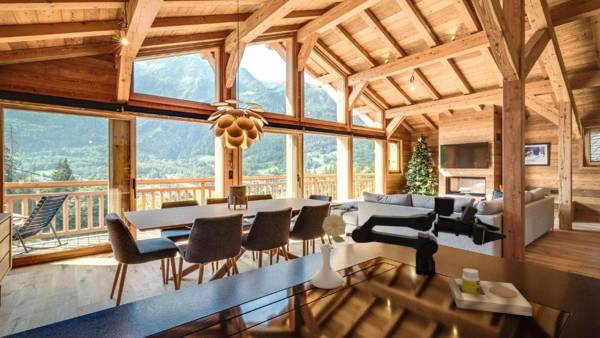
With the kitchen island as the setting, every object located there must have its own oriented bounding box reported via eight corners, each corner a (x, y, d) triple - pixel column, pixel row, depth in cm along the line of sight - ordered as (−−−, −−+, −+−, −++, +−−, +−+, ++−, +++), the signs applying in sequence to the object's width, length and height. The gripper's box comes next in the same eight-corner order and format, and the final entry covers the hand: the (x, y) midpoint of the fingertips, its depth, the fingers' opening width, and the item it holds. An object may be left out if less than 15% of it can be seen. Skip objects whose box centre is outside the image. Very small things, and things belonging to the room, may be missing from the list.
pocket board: (457, 307, 87) (457, 298, 87) (449, 285, 102) (449, 277, 102) (532, 316, 81) (532, 306, 81) (511, 291, 96) (511, 283, 96)
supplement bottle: (479, 302, 89) (479, 274, 89) (461, 298, 92) (461, 271, 92) (480, 296, 93) (479, 269, 93) (462, 292, 96) (462, 266, 96)
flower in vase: (306, 289, 102) (304, 216, 101) (316, 277, 112) (314, 210, 112) (344, 294, 97) (342, 217, 97) (351, 281, 108) (349, 211, 107)
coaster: (492, 296, 88) (492, 295, 88) (486, 286, 94) (486, 285, 94) (521, 298, 85) (521, 297, 85) (512, 288, 92) (512, 287, 92)
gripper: (457, 209, 101) (512, 215, 95) (452, 200, 118) (499, 204, 112) (454, 241, 102) (508, 250, 96) (449, 227, 119) (495, 233, 113)
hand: (502, 232), depth 104 cm, fingers open, 9 cm apart
